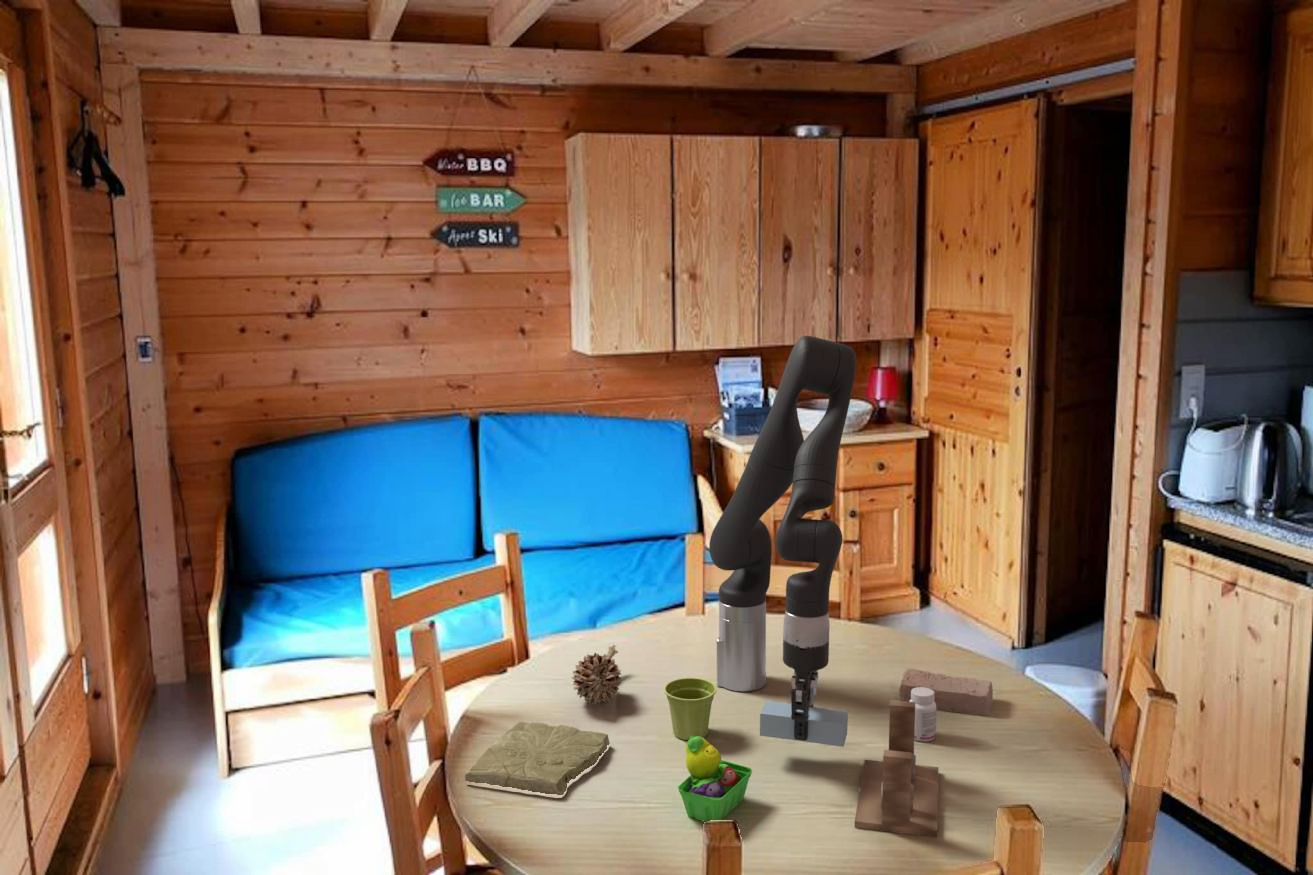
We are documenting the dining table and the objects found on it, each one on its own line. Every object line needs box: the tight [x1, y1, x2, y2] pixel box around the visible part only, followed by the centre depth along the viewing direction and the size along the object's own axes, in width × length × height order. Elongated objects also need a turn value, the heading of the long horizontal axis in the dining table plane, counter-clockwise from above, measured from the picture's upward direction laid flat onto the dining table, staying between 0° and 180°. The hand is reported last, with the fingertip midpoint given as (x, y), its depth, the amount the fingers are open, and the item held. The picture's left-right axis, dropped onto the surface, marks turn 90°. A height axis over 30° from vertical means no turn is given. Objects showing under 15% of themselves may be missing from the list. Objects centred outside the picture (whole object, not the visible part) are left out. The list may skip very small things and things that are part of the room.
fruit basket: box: [677, 736, 753, 822], centre depth 170 cm, size 11×9×11 cm
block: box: [759, 700, 849, 748], centre depth 183 cm, size 5×14×4 cm, turn 74°
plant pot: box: [663, 677, 718, 741], centre depth 195 cm, size 9×9×9 cm
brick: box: [898, 668, 994, 717], centre depth 207 cm, size 17×8×5 cm, turn 69°
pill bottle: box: [909, 687, 937, 743], centre depth 192 cm, size 5×5×8 cm
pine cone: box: [571, 644, 622, 706], centre depth 213 cm, size 22×10×10 cm, turn 175°
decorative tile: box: [464, 721, 611, 795], centre depth 185 cm, size 19×20×4 cm
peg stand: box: [854, 699, 939, 838], centre depth 171 cm, size 12×20×12 cm, turn 165°
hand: (803, 731), depth 184 cm, fingers closed on block, 5 cm apart
